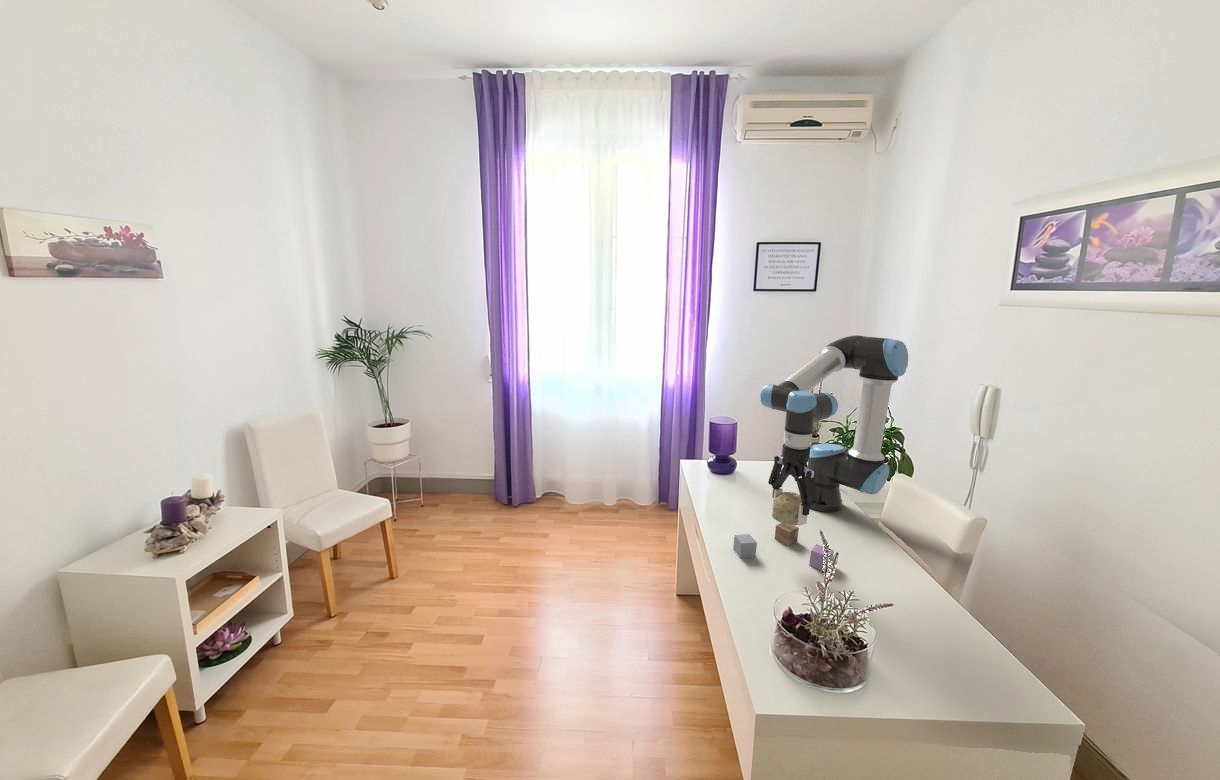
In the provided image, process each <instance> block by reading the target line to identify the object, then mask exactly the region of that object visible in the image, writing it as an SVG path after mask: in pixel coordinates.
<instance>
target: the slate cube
mask: <svg viewBox="0 0 1220 780" xmlns="http://www.w3.org/2000/svg"><path fill="white" fill-rule="evenodd" d="M733 537H734V538H733V545H732V546H733V548H732V549H733V551H734V552H735V554H736V553H737V554H736V555H737V556H738V558H739V559H746V558H749V557H750V558H756V555H757V545H758V541H757V540H755V539H754V538H753V536H752V535H751V533H750V534H749V533H747V534H744V533H743V534H734V536H733Z"/></svg>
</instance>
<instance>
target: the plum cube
mask: <svg viewBox="0 0 1220 780" xmlns="http://www.w3.org/2000/svg"><path fill="white" fill-rule="evenodd" d="M828 548H829V547H828ZM829 549H830V561H832V562H833V560H832V559H834V558H833V557H834V551H835V550H834V549H832V548H829ZM823 557H824V551H823V545H821V544H818V543H816V544H815V545H814V546H813V548H812V549H811V550H810V557H809V563H808V566H809V567H812V568H815V569H817V568H818V569H817V570H821V571H822V568H823Z"/></svg>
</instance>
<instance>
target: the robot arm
mask: <svg viewBox="0 0 1220 780" xmlns="http://www.w3.org/2000/svg"><path fill="white" fill-rule="evenodd" d="M908 365H909V351H908V349H907V345H906V344H905V342H903V341H902V340H899V339H892V338H888V337H875V336H865V335H857V334H856V335H849V336H846V337H842V338H838V339H837V340H835V341H832V342H830V343H828V344H827V345H826V346H824V347H822V349H820V351H819V352H818V355H817V356H815V357H814V358H813V359H811V360H810V361H809V362H807V363H806V364H805V365H803V366H802V367H801V368H799V369H798V370H796V371H795V372H794V373H792V374H791V375H790V376H788V377H787V378H785V379H784V380H783V381H782V382H781V383H779V384H777V385H776V384H774V383H773V384H772V383H771V384H766V385H764V386H763V387H762V389H761V392H760V396H759V398H760V402H761V405H762V406H764V407H765V408H768V409H772V410H774V411H780V412H784V413H785V424H784V429H783V430H784V431H783V440H782V442H783V444H782V448H781V455H775V456H774V458H773V459H774V461H773V462H774V463H773V467H772V470H771V473H770V475H769V479H768V484H769V485H770V486H771V488H773V489H772V498H773V499H772V510H773V506H774V505H773V504H774V500H775V498H777V497H778V496H779V495H780V494H781V493H783V492H784V488H783V485H784V483H785V481H786V480H787V479H788V477H789V476H791V477H792V478H794V481H795V482H796V484H797V489H798V492H799V495H800V496H801V500H802V503H801V504H800V506H799V514H798V523H797V525H796V526H800V527H801V526H803V525H806V524H807V523H808V522H807V521H808V520H807V519H808V515H810V511H811V510H814V511H818V512H823V513H825V512H826V513H835V512H839V511H840V510H841V509H842V507H843V499H842V495H841V489H840V485H842V486H844V487H848V488H850V489H853V490H855V491H858V492H860V493H864V494H868V495H876V494H878V493H879V492H880V491H882V489H883V488H884V486H885V484H886V483H887V481H888V479H889V475H890V472H891V471H890V466H889V465H888V464H887V463H885V455H884V454H883V453H882V452H881V451H882V446H883V440H884V439H883V438H884V434H885V427H886V421H887V414H888V408H889V402H890V399H891V398H890V397H891V390H892V385H894V384H895V383H896V382H898V380H899V377H902V376H904V375H905V374H906V372H907V368H908ZM843 369H853V370H858V371H859V372H858V373H859V374H858V376H859V378H860V380H862V388H861V393H860V401H859V407H858V413H857V421H856V425H855V433H854V440H853V446H852V447H851V448H849V449H848V450H847V452H846V448H845V447H844V446H843V445H840V444H835V443H819V444H815V445H812V440H813V439H812V438H813V429H814V423H817V422H819V421H822V420H827V419H829V418H830V417H832V416H834V415H835V414H836V413H837V411H838V408H839V403H838V400H837V398H836V397H835V396H834V395H833V394H832V393H829V392H819V393H814V392H811V390H813V389H814V388H815V387H816V386H817V385H819V384H820V383H822V382H823V381H824V380H825V379H827V378H828V377H829V376H831V375H832V374H833V373H837V372H839V371H841V370H843Z"/></svg>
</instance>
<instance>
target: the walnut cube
mask: <svg viewBox="0 0 1220 780" xmlns="http://www.w3.org/2000/svg"><path fill="white" fill-rule="evenodd" d="M799 529H800V527H798V526H797V525H787V524H783V523H778V524H776V525H775V532H774V540H775V539H776V540H775V541H777V540H778V542H779V541H780V542H779V543H781V542H782V543H781V544H783V543H784V544H783V545H785V544H786V545H785V546H787V545H789V546H791V545H793V544H795V543H797V542H798V540H799V539H798V538H799V537H798V536H799ZM792 543H793V544H792ZM790 544H791V545H790Z"/></svg>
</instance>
